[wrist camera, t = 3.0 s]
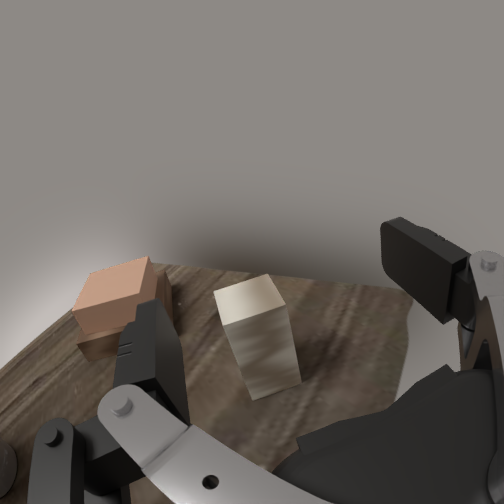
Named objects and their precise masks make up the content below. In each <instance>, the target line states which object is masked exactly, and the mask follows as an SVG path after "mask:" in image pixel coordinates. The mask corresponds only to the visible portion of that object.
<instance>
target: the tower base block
mask: <svg viewBox="0 0 504 504" xmlns="http://www.w3.org/2000/svg"><path fill="white" fill-rule="evenodd" d="M155 273H156V276H157V278H158V280H157V286H156V293H155V299H156V298H159V299H160V300H161V301H162V303H163V305H164V308H165V310H166V312H167V314H168V316H169V318H170V320H171V322H172V324H173V304H172V286H171V284H170V282H169V279H168V277H167V274H166V272H165V270H161V271H158V272H155ZM125 326H126V325H125ZM125 326H121V327H117V328H113V329H109V330H105V331H100V332H96V333H92V334H87V335H85V333H84V331H83V330H82V328H81V330H80V334H79V337H78V340H77V346H78V347H79V349H80V350H81V351H82V353H83V354H84V356H85V357H86V359H87V360H88V361H89V362H90V361H94V360H98V359H102V358H106V357H110V356H114V355H117V353H118V348H119V340H120V334H121V333H122V331H123V329H124V328H125ZM173 326H174V325H173Z"/></svg>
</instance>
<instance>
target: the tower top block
mask: <svg viewBox="0 0 504 504" xmlns="http://www.w3.org/2000/svg"><path fill="white" fill-rule="evenodd" d="M157 280H158V278H157V276H156V273H155V271H154V268H153V266H152V263H151V261H150V259H149V256H146V257H143V258H139V259H136V260H133V261H129V262H126V263H123V264H120V265H116V266H113V267H109V268H107V269H103V270H100V271H97V272H93V273H91V274H90V275H89V277H88V279H87V281H86V283H85V285H84V287H83V289H82V291H81V293H80V295H79V297H78V299H77V301H76V303H75V305H74V307H73V309H72V313H73V315H74V317H75V318H76V320H77V322H78V323H79V325H80V327H81V328H82V330H83V331H84V333H85V335H87V334H92V333H96V332H100V331H105V330H109V329H113V328H117V327H121V326H125V325H127V323H129V322H133V321H135V316H136V308H137V305H138V304H140V303H143V302H146V301H149V300H153V299H155V293H156V286H157Z"/></svg>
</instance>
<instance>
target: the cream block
mask: <svg viewBox="0 0 504 504" xmlns="http://www.w3.org/2000/svg"><path fill="white" fill-rule="evenodd" d="M214 295H215V298H216V302H217V306H218V310H219V313H220V317H221V321H222V324H223V327H224V330H225V332H226V335H227V338H228V340H229V343H230V346H231V348H232V351H233V353H234V356H235V358H236V361H237V363H238V366H239V369H240V371H241V374H242V376H243V378H244V381H245V383H246V386H247V388H248V391H249V393H250V396H251V398H252V401H253V400H256V399H259V398H262V397H265V396H268V395H271V394H274V393H277V392H279V391H282V390H285V389H288V388H291V387H293V386H296V385H299V384H301V383H302V381H301V376H300V371H299V366H298V361H297V356H296V351H295V346H294V341H293V336H292V331H291V327H290V322H289V317H288V312H287V307H286V304H285V302H284V300H283V299H282V297H281V295H280V294H279V292H278V290H277V289H276V287H275V285H274V284H273V282H272V280H271V279H270V277H269V275H268V274H265V275H262V276H259V277H256V278H253V279H250V280H247V281H244V282H241V283H238V284H235V285H232V286H229V287H226V288H223V289H220V290H217V291H214Z"/></svg>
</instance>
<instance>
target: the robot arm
mask: <svg viewBox="0 0 504 504" xmlns="http://www.w3.org/2000/svg"><path fill="white" fill-rule="evenodd" d="M380 232H381V255H382V256H381V257H382V265H383V268H384V271H385V273H386V274H387V275H388V276H389V277H390V278H391V279H392V280H393V281H394V282H396V283H397V284H398V285H399V286H400V287H401V288H403V289H404V290H405V291H406V292H407V293H408V294H409V295H411V296H412V297H413V298H414V299H415V300H416V301H417V302H418V303H420V304H421V305H422V306H423V307H424V308H425V309H426V310H427V311H429V312H430V313H431V314H432V315H433V316H434V317H435V318H436V319H438V321H440V322H441V323H442V324H445V323H446V322H449V321H450V320H452V319H454V318H456V319H457V320H458V321H459V323H458V338H459V349H460V364H461V371H458V372H454V371H453V370H452V369H451V368H450V367H449V366H448V365H447V364H446V365H444V366H443V367H441V368H439V369H438V370H436V371H435V372H433V373H431V374H430V375H428V376H426V377H425V378H423V379H421V380H420V381H418V382H416V383H415V384H414V385H413V386H412V387H411V388H410V389H409V390H408V391H407V392H405V394H403V395H402V396H401V397H400V398H399V399H398V400H397V401H395V402H394V403H393V404H392V405H391V406H390V407H389V408H387V409H386V410H384V411H381V412H377V413H373V414H369V415H365V416H361V417H356V418H352V419H347V420H342V421H338V422H336V423H333V424H331V425H328V426H326V427H324V428H321V429H319V430H316V431H314V432H311V433H308V434H306V435H303V436H300V437H298V438H296V440H297V443H298V446H299V450H297V451H295V452H294V453H292V454H291V455H290V456H288V457H287V458H286V459H285V460H283V461H282V462H281V463H280V464H279V465H278V466H277V467H276V468H275V469H274V470H273V472H272V473H269V472H268V471H266V470H264V469H262V468H261V467H259V466H257V465H255V464H254V463H252V462H250V461H249V460H247V459H245V458H244V457H242V456H241V455H239V454H237V453H236V452H234V451H233V450H231V449H230V448H228V447H226V446H225V445H223V444H222V443H220V442H219V441H217V440H216V439H214V438H213V437H211V436H210V435H208V434H207V433H206V432H204V431H203V430H201V429H200V428H198V427H197V426H195V425H193V424H190V417H189V409H188V401H187V392H186V384H185V374H184V364H183V354H182V347H181V343H180V340H179V337H178V335H177V332H176V330H175V328H174V326H173V324H172V322H171V320H170V318H169V316H168V314H167V312H166V310H165V308H164V305H163V303H162V301H161V300H160V299H159V298H156V299H153V300H149V301H146V302H143V303H140V304H138V305H137V308H136V316H135V321H133V322H129V323H127V325H126V326H125V328H124V329H123V331H122V333H121V334H120V340H119V348H118V353H117V356H118V357H117V360H116V367H115V374H114V382H113V389H112V390H111V391H109V392H108V393H107V394H106V395H105V396H104V397H103V398H102V400H101V402H100V404H99V406H98V415H96V416H95V417H93V418H91V419H89V420H87V421H85V422H83V423H81V424H79V425H77V426H75V427H74V426H73V425H72V424H71V423H70V422H69V421H68V420H66V419H64V418H55V419H52V420H50V421H48V422H46V423H45V424H44V425H43V426H42V427H41V428H40V429H39V431H38V433H37V435H36V437H35V441H34V447H33V454H32V461H31V469H30V477H29V487H28V498H27V504H131V498H130V489H129V484H130V483H132V482H134V481H136V480H139V479H141V478H143V477H145V476H147V477H148V478H149V479H150V480H151V481H152V482H153V483H154V484H155V485H156V486H157V487H158V488H159V489H160V490H161V491H162V492H163V493H164V494H165V495H167V496H168V497H169V498H170V499H171V500H172V501H173V502H174V503H175V504H504V257H502V256H501V255H499V254H497V253H494V252H491V251H479V252H476V253H474V254H472V255H471V254H470V253H468V252H466V251H465V250H463V249H462V248H460V247H458V246H457V245H455V244H453V243H451V242H450V241H448V240H445V238H443V237H441V236H440V235H439V236H438V235H437V234H436V233H434V232H433V231H431V230H429V229H427V228H423V227H419V226H416V225H414V224H413V223H411V222H409V221H407V220H406V219H404V218H402V217H398V218H395V219H392V220H389V221H386V222H384V223H382V224H381V228H380ZM16 472H17V458H16V454H15V452H14V450H13V449H12V448H11V446H10V445H8V444H7V443H6V442H5V441H4V440H3V439H2V438H1V437H0V498H1V497H2V496H3V495H5V494H6V493H7V492H8V490H9V489H10V487H11V486H12V484H13V482H14V479H15V476H16Z"/></svg>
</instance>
